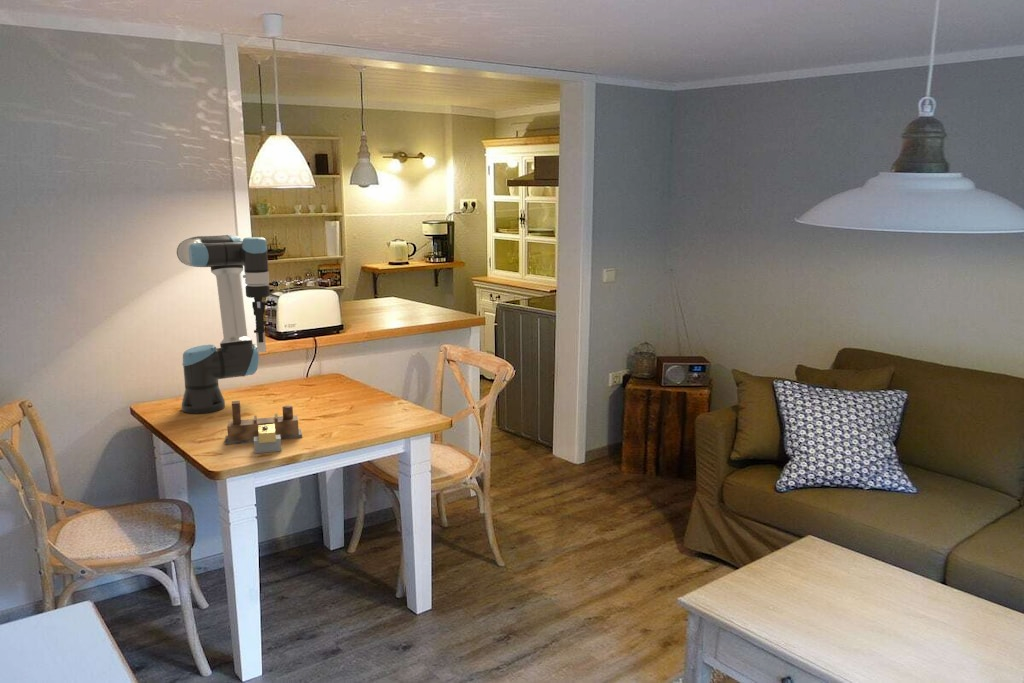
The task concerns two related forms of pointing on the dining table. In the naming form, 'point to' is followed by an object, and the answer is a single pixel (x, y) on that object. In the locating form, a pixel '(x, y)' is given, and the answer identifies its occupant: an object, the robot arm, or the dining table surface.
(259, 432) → the lever cap
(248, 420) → the plane body
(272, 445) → the block
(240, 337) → the robot arm
